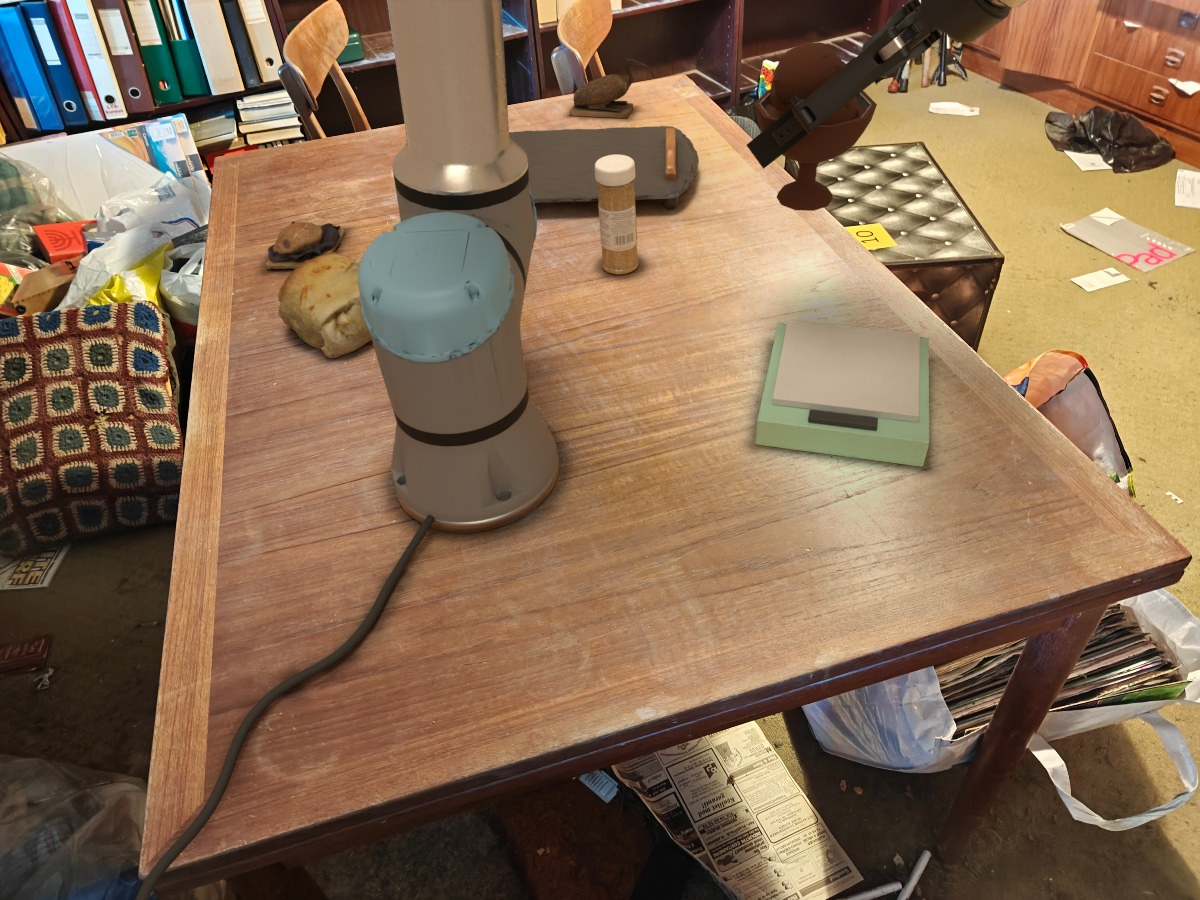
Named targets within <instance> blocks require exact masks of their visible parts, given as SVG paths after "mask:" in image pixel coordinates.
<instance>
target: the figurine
mask: <svg viewBox="0 0 1200 900" xmlns="http://www.w3.org/2000/svg"><path fill="white" fill-rule="evenodd" d="M630 67H642V68H645V69H647V70H648V71H649V72H650V74H651V76H652V78H653V79H656V76H655V74H654V72H653V70H652V68H650V67H649V66H648V65H647V64H645V63H644V62H641V61H638V60H635V59H634V58H631V57H628V58H626V59H625V61H624V70H625V72H626V74H627V76H628V79H627V78H625V77H624V76H622V74H621V75H620V74H616V73H611V74H606V75H604V76H600V77H598V78H595V79H593V80H591V81H588V82H586V83H585V84H583V85H581V86H580V87H578V88H577V89H576V90H575V91H574V94H573V106H572V107H571V108H570V109H569V116H572V117H575V116H576V117H595V118H613V119H614V118H615V119H616V118H617V119H628V118H629V116H630V115H631V113H632V111H633V109H634V103H631V102H628V101H627V100H619V99H621V98H623V97H624V96H626V94H627V93H628V92H629V89H630V87H631V86H632V85H633V83H634V76H633V73H632V72H631V70H630Z"/></svg>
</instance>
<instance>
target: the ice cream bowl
mask: <svg viewBox="0 0 1200 900" xmlns="http://www.w3.org/2000/svg"><path fill="white" fill-rule="evenodd" d="M844 61H845V60H843V59H842V58H841V57H840V56H839V55H838V54H837V52H836V50H834V49H832V48H831V47H829V46H827V44H826V43H823V42H819V41H818V42H803V43H802V44H799V45H797V46H794V47H792V48H790V49H788V50H786V52H785V53H784V55H782V56H781V57H780V58H779V60H778V64H777V65H776V68H775V69H774V72H773V76H772V81H771V86H770V89H767V90H766V91H765V92H764V93H763V94H762V95H761V96H760V97H759V98H758V99H756V101H755V102H754V111H755V117H756V121H757V124H758V126H759V129H760V131H761V132H763V131H764V130H765V129H766V128H767V127H769V126H770V125H771V124H772V123H774V122H775V121H776V120H777V119H778V118H780V117H781V116H782V115H783V114H784V113H786V112H787V111H788V110H789V109H791V108H792V107H793V106H794V105H793V104H792V102H791V101H790V99H791V98H793V97H794V96H795V95H797V97H798V98H799V100H802V99H806V98H807V97H808V96H809V95H810V94H812V93H813V92H814V91H815V90H817V89H818V88H819V87H820V86H821V85H823V84H824V83H825V82H826V81H828V80H829V79H830V78H831V77H832V76H834V75H835V74H836V73H837V72H839V71H840V70H841V69H842V68H844V67H845V66H846V64H847V63H845V62H844ZM877 105H878V104H877V103H876V101H874V99H873V98H871V97H870V96H869V94H868V93H867V92H865V90H863V91H862V92H861V93H859V94H858V95H857V96H855V97H854V98H853V99H852V100H850V101H849V102H848V103H847V104H845V105H844V106H843V107H841V108H840V109H839V110H838V111H836V112H835V113H834V114H833V115H831V116H830V117H829V118H828V119H826V120H825V121H824V122H822V123H821V124H820V126H819V127H818V128H817V129H816V130H815V131H814V132H811V133H809V134H808V135H807V136H805V137H804V138H803V139H801V140H800V141H799V142H798V143H796V144H795V145H794V146H792V147H791V148H790V149H789V150H787V151H786V152H785V153H783V154H782V155H781V156H782V157H785V158H786V159H789V160H791V161H795V162H797V164H798V172H797V173H798V174H797V180H794V181H791V182H789V183H787V184H784V185H783V186H782V187H781V188H780V190H779V191H778V192H777V194H776V199H777V200H778V202H779V204H780V205H781V206H783V207H786V208H788V209H790V210H793V211H803V212H804V211H805V212H807V211H808V212H809V211H810V212H814V211H817V210H821V209H824V208H827V207H829V205H830V204H831V203H832V202H833V200H834V197H833V193H832V192H831V190H830V189H829V187H828V186H827V185H824V184H823V183H821V182H819V181H817V170H818V166H819V164H820V163H823V162H826V161H830V160H831V161H832V160H833V159H836V158H837V157H840V156H842V155H844V154H845V153H846V152H847V151H848V150H850V149H851V148H852V147H853V146H855V145H856V143H857V142H858V141H859V139H860V138H861V137H862V136H863V134H864V132H865V131H866V129H867V128H868V126H869V124H870V123H871V121H872V120H873V117H874V114H875V111H876V109H877Z"/></svg>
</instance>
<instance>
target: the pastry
mask: <svg viewBox="0 0 1200 900" xmlns="http://www.w3.org/2000/svg"><path fill="white" fill-rule="evenodd" d="M359 265H360V263H358V262H356V260H355V259H353V258H352V257H350V256H345V255H341V254H338V253H336V251H334V252H328V253H326V254H325V255H322V256H317V257H316V258H314V259H310V260H306V261H304V262H303V263H302V264H301V265H300V266H298V267H297V268H296V269H292V271H291V272H290V273H289V275H288V276H287V277H286V279H285V280H284V281H283V284H282V285H281V286H280V287H279V288H278V289H279V290H278V293H277V299H278V301H279V306H278V317H279V318H280V319H281V320H282V321H283V323H284V324H285V325H286V326H288V327H289V328H290V329H291V330H293V331H294V332H295V333H296V334H297V336H298V337H299V339H300V340H301V341H302V342H304V343H306V344H308V345H309V346H310V347H313V348H315V349H318V350H320V351H322V352H323V354H324V355H325V356H326V357H327V358H329V359H336V358H339V357H342V356H345V355H348V354H351V353H353V352H355V351H356V350H358V349H360V348H361V347H363V346H365V345H367V344H368V343H370V342H372V339H371V336H370V332H369V330H368V327H367V326H366V324H365V320H364V319H363V316H362V306H361V303H360V292H359V287H358V269H359Z"/></svg>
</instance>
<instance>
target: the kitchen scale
mask: <svg viewBox="0 0 1200 900" xmlns="http://www.w3.org/2000/svg"><path fill="white" fill-rule="evenodd" d="M929 346H930V342H929V337H925V336H924V337H923V336H921V334H920V332H914V331H905V330H893V329H883V328H875V327H874V328H872V327H864V326H863V327H862V326H853V325H851V326H850V325H843V324H832V323H825V322H824V323H821V322H813V321H804V320H803V321H802V320H792V319H787V322H786V323H785V322H777V324H776V329H775V334H774V340H773V344H772V347H771V352H770V353H771V354H770V358H769V363H768V367H767V373H766V377H765V381H764V385H763V392H762V396H761V401H760V406H759V410H758V415H757V419H756V431H755V441H754V442H755V443H754V444H755V445H758V446H765V447H772V448H779V449H786V450H794V451H801V452H809V453H815V454H816V453H817V454H824V455H832V456H839V457H847V458H855V459H862V460H867V461H868V460H869V461H877V462H883V463H891V464H898V465H905V466H913V467H920V468H923V467H924V464H925V461H926V457H927V453H928V450H929V446H930V443H931V442H930V353H929V352H930V347H929Z"/></svg>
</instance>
